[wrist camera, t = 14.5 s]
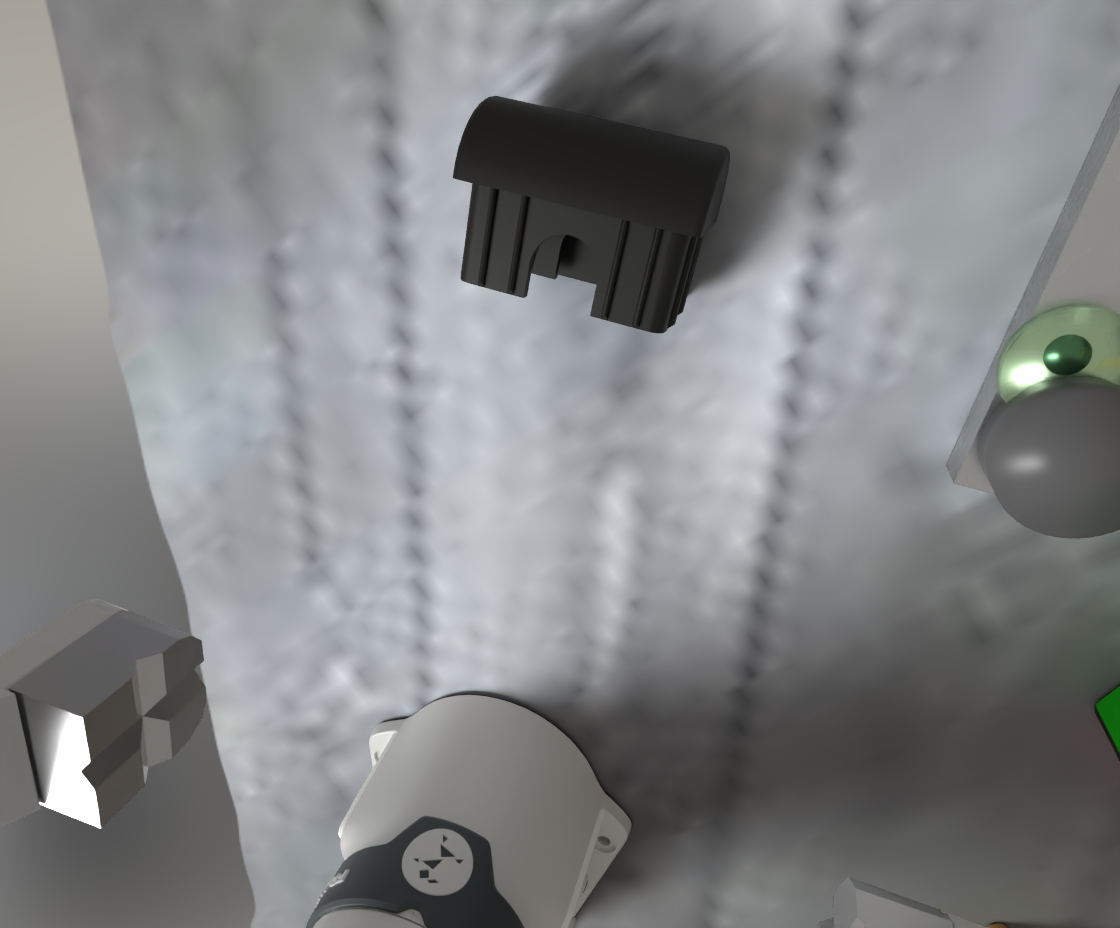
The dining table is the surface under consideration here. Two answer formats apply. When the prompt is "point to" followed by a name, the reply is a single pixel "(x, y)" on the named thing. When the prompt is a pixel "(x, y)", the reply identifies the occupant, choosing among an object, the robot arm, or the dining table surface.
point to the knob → (1057, 456)
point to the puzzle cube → (1110, 717)
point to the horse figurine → (997, 926)
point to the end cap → (587, 207)
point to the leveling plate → (1061, 302)
